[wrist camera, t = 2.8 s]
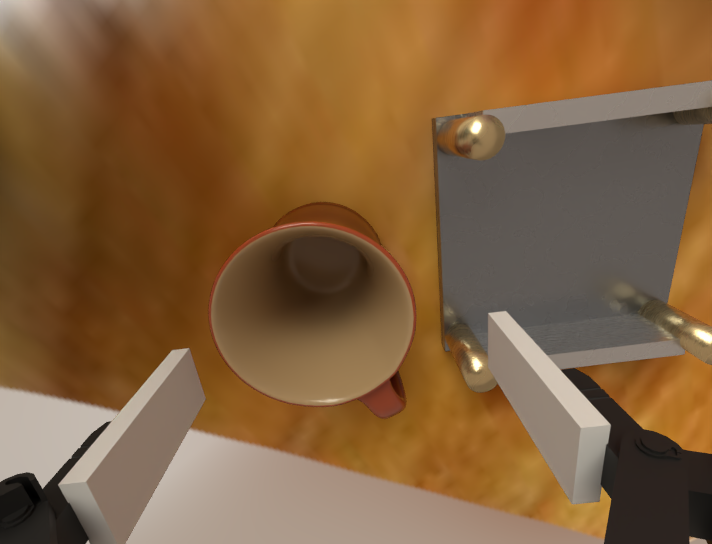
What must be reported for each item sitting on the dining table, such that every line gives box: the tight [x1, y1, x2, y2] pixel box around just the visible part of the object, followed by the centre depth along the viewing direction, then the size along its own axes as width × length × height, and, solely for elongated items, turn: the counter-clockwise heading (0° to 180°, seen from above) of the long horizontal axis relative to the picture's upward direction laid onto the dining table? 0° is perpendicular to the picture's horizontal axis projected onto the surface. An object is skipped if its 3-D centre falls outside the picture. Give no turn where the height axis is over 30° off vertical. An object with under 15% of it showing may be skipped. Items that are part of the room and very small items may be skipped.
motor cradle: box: [432, 81, 712, 392], centre depth 22 cm, size 16×16×6 cm
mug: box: [208, 202, 416, 419], centre depth 21 cm, size 12×9×10 cm
